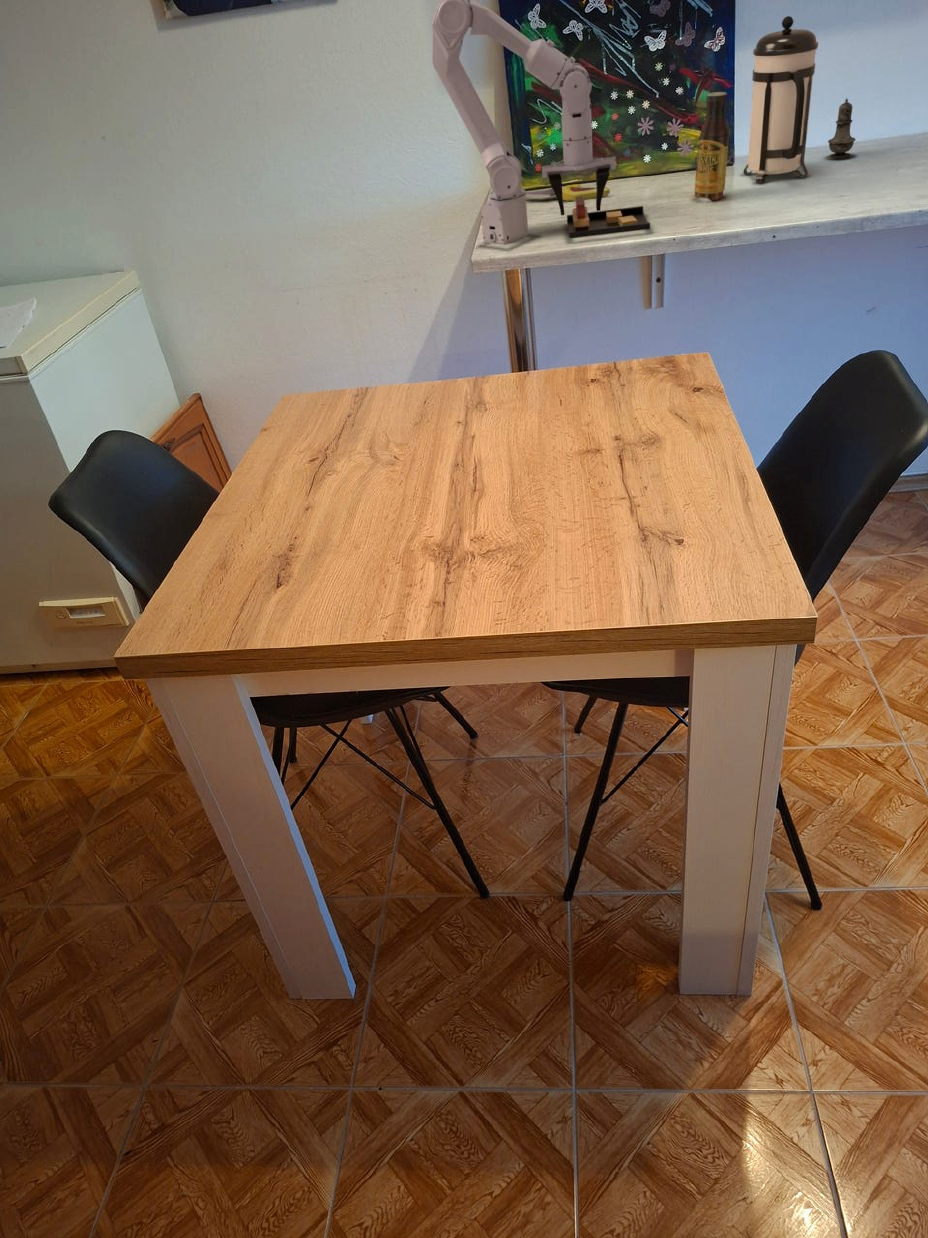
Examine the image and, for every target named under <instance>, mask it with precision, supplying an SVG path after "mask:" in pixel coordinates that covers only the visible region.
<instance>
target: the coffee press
mask: <svg viewBox="0 0 928 1238" xmlns="http://www.w3.org/2000/svg"><path fill="white" fill-rule="evenodd" d="M793 24H794V19H793V17H792V16H790V15H787V16H786V17H785V16H784V18H783V19H782V21H781V26H782V28H783V29H782V30H779V31H774V32H770V33H768V34H765V35H764V36H762V37H761V38H760V39H758V41H757V43H756V45H755V48H753V51H752V54H753V57H754V67H753V69H752V79H751V80H752V93H751V95H752V96H751V112H750V125H749V140H748V141H749V142H748V154H747V155H748V156H747V157H748V158H747V165H746V166H745V167H744V169H743V171H742V173H743V175H744V176H749V175H750V174H752V173H754V174H757V175H756V178H755V183H756V184H762V185H763V184H764V183H765V181H766V179H767V177H768V176H769V175H779V174H780V175H781V174H787V173H795V174H796V175H797V176H798V177H799V178H800V179H803V178H805V177H807V176H808V174H809V170H808V168H807V166H806V164H805V155H806V149H807V139H808V130H809V129H808V128H809V119H810V118H809V117H810V110H811V100H812V89H813V79H814V75H815V72H816V71H815V70H816V62H815V61H816V51H817V50H818V47H819V42H818V41H817V37H816V35H815V33H814V32H812V31H811V30H808V29H801V28H800V29H798V28H797V29H796V28H795V29H792V28H791V27H793ZM800 168H801V169H802V171H803V173H804V175H803V173H802V172H801V171H800V170H799V169H800ZM748 170H750V171H749V172H748Z"/></svg>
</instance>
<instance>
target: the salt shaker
mask: <svg viewBox="0 0 928 1238" xmlns="http://www.w3.org/2000/svg"><path fill="white" fill-rule="evenodd" d="M844 101H845V102H843V103H841V104H840V105H839V107H838V114H837V120H836V121H835V124H836V129H835V134H834V136H833V137H832V138H830V139H829V140H828V141H827V143H828V147H829V150H830V152H832V153H831V154H830V155H828V156H827V160H831V161H843V160H848V159H851V158H852V157H853V155H852V154H851V153H849V151H850V150H851V149H852V148H853V146H854V144H855V143H854V142H855V141H856V138H855V137H852V136H851V124H852V123H853V119H852V113H853V104H852V103H850V102H849V99H848V97H846V99H845V100H844Z"/></svg>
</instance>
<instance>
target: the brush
mask: <svg viewBox="0 0 928 1238" xmlns="http://www.w3.org/2000/svg"><path fill="white" fill-rule="evenodd" d="M574 202H575V207H574V208H572V209H571V213H572V214H571V215H573V221H574V227H575V231H581V230H589V229H588V226H589V217H588V213H589V211H588V208H587V206H586V203H585V200H584V198H583V196H578V197H575V201H574Z"/></svg>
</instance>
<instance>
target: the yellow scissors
mask: <svg viewBox="0 0 928 1238" xmlns="http://www.w3.org/2000/svg"><path fill="white" fill-rule="evenodd" d="M610 190H611V189H610V188H609V187H607V186H605V189H604V192H603V196H602V198H606V197H607V196H609V194H610ZM596 193H597V189H596V187H582V186H581V184H568V185H566V186H564V187H562V197H563V201H566V202H575V197H578V196H583V198H584V201H586V200H587V201H588V200H589V201H590V200H593V199H594V200H596ZM525 194H526V198H527V197H528V198H544V197H545V198H546V197H547V198H548V197H549V198H550V197H554V196H556V195H555V193H554V191H553V188H552V187H551V188H549V189H545V190H538V191H525Z"/></svg>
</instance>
